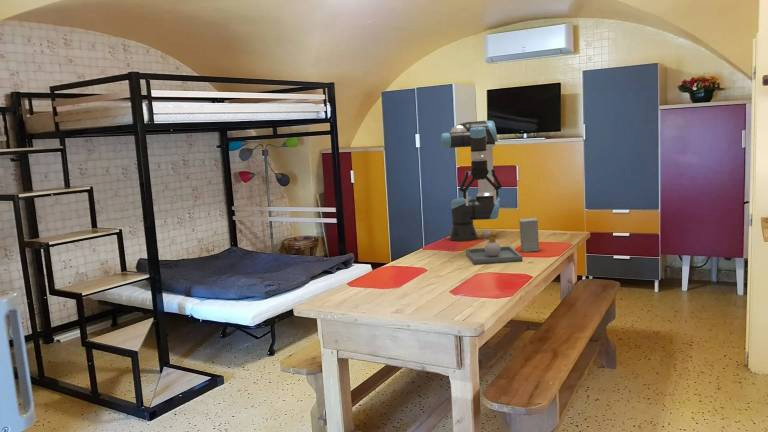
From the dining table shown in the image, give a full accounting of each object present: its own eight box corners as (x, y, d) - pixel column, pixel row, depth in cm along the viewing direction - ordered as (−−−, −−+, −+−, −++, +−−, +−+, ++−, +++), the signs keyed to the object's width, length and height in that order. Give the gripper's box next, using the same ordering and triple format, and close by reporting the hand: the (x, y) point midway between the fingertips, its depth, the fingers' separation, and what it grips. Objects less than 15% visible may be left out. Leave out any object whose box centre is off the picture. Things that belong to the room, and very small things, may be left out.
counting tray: (466, 254, 303) (465, 249, 302) (510, 251, 303) (510, 246, 303) (474, 264, 279) (474, 259, 279) (522, 261, 279) (522, 256, 279)
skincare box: (537, 248, 304) (536, 217, 302) (539, 251, 297) (538, 219, 295) (520, 249, 305) (518, 218, 303) (521, 252, 298) (520, 220, 296)
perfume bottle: (496, 258, 285) (495, 233, 283) (477, 256, 291) (476, 232, 289) (503, 255, 291) (502, 230, 289) (485, 253, 297) (484, 229, 295)
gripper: (454, 162, 287) (456, 207, 290) (507, 158, 287) (508, 203, 291) (451, 161, 294) (454, 205, 298) (503, 157, 295) (505, 201, 298)
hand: (481, 204), depth 294 cm, fingers open, 13 cm apart
